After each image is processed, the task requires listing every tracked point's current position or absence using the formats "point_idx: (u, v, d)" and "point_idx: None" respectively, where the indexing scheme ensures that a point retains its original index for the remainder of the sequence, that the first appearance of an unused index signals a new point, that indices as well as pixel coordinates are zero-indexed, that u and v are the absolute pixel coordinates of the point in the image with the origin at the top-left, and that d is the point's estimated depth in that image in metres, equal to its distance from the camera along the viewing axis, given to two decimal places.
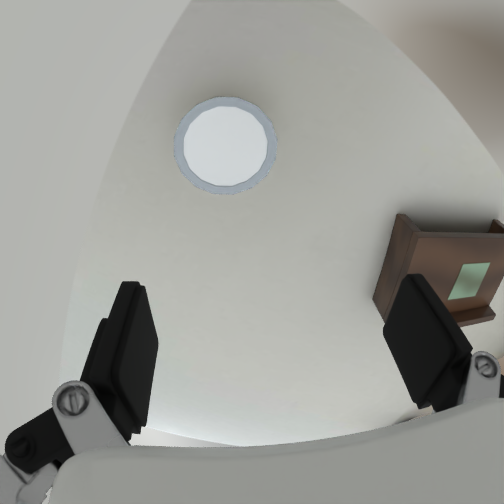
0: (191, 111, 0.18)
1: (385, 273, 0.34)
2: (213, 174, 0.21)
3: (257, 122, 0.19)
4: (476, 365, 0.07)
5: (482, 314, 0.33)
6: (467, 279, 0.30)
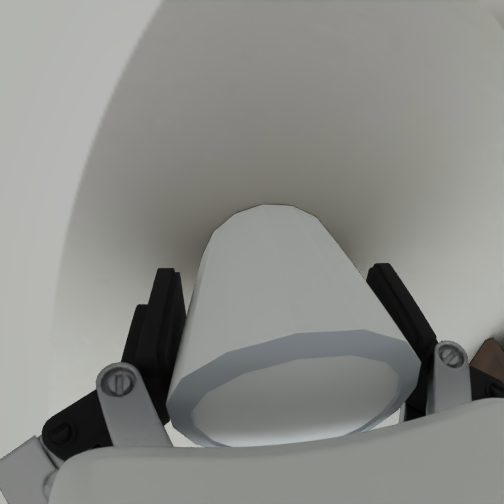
0: (209, 366, 0.06)
1: None
2: (264, 443, 0.08)
3: (391, 372, 0.07)
4: (441, 356, 0.07)
5: None
6: None
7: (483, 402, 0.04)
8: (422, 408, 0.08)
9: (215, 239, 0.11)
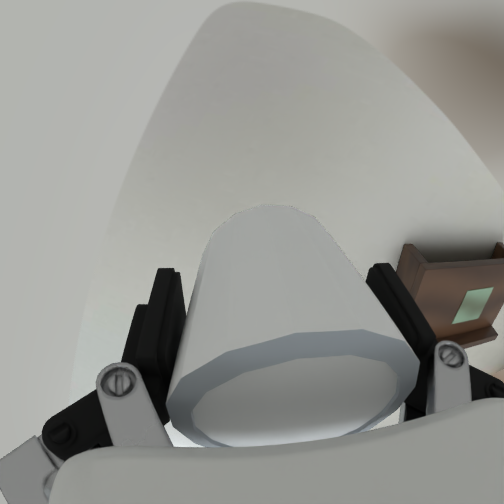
0: (208, 366, 0.06)
1: None
2: (264, 443, 0.08)
3: (390, 371, 0.07)
4: (440, 356, 0.07)
5: (484, 335, 0.33)
6: (471, 304, 0.31)
7: (483, 402, 0.04)
8: (422, 408, 0.08)
9: (215, 239, 0.11)
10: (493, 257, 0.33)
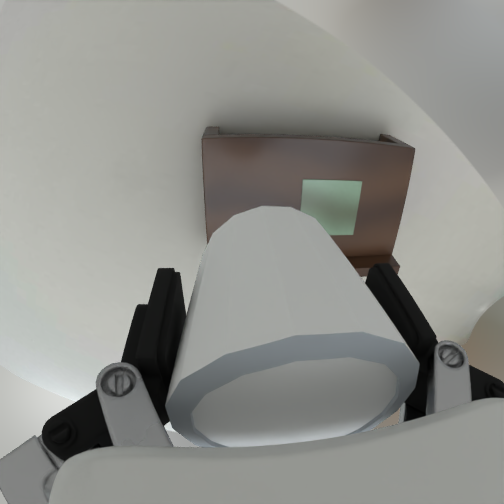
0: (208, 368, 0.06)
1: None
2: (263, 444, 0.08)
3: (389, 373, 0.07)
4: (440, 356, 0.07)
5: (372, 264, 0.28)
6: (323, 205, 0.26)
7: (483, 402, 0.04)
8: (422, 408, 0.08)
9: (214, 240, 0.11)
10: None
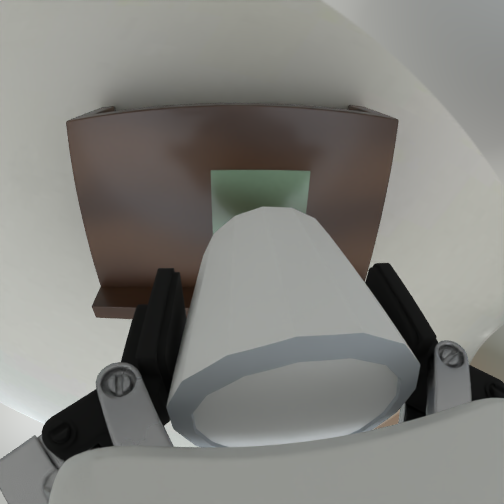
0: (209, 369, 0.06)
1: None
2: (264, 445, 0.08)
3: (390, 374, 0.07)
4: (440, 356, 0.07)
5: None
6: (248, 209, 0.17)
7: (483, 402, 0.04)
8: (422, 408, 0.08)
9: (215, 241, 0.11)
10: None
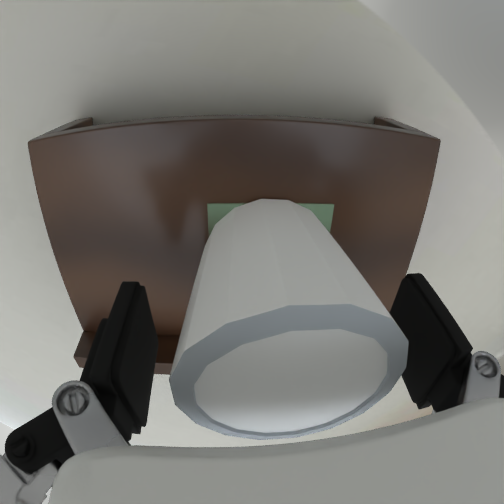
0: (210, 338, 0.07)
1: None
2: (262, 423, 0.09)
3: (379, 349, 0.07)
4: (476, 365, 0.07)
5: None
6: None
7: (483, 402, 0.04)
8: None
9: (216, 231, 0.12)
10: None
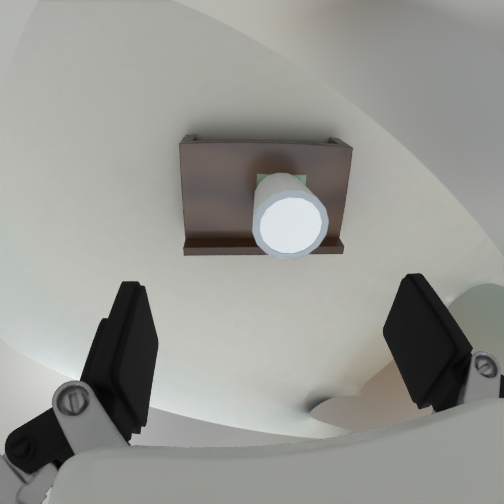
0: (268, 200, 0.26)
1: None
2: (280, 245, 0.28)
3: (316, 209, 0.27)
4: (476, 365, 0.07)
5: None
6: None
7: (483, 402, 0.04)
8: None
9: (261, 183, 0.31)
10: None
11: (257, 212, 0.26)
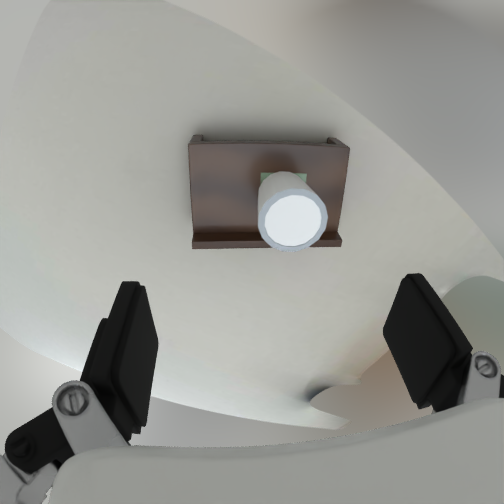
0: (272, 197, 0.28)
1: None
2: (283, 238, 0.31)
3: (316, 205, 0.29)
4: (476, 365, 0.07)
5: None
6: None
7: (483, 402, 0.04)
8: None
9: (265, 181, 0.34)
10: None
11: (262, 208, 0.29)
